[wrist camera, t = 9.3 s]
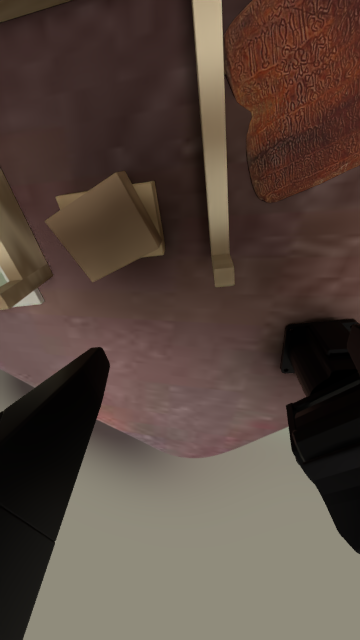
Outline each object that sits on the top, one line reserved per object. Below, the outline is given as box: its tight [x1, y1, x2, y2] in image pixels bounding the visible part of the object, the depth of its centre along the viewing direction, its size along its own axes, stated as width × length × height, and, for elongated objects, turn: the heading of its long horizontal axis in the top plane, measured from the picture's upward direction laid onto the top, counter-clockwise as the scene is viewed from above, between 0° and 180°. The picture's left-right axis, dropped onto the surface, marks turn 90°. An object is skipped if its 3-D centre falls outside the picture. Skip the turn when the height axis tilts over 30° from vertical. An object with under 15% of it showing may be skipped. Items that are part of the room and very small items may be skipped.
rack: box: [0, 0, 234, 310], centre depth 14 cm, size 16×17×6 cm
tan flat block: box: [45, 171, 162, 282], centre depth 16 cm, size 5×6×2 cm
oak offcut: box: [56, 181, 166, 257], centre depth 18 cm, size 5×7×2 cm
